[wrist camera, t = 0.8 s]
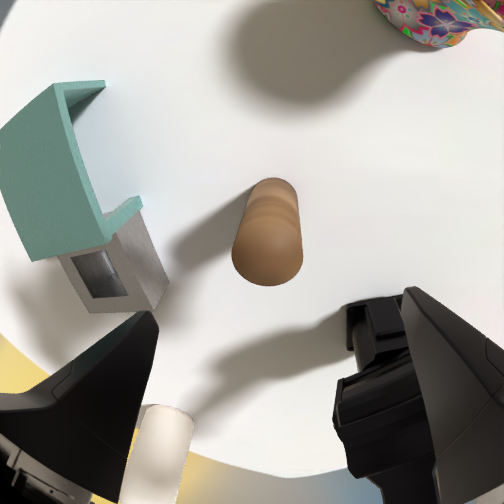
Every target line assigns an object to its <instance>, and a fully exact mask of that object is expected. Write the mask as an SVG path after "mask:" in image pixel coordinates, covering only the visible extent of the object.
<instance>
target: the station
mask: <svg viewBox="0 0 504 504" xmlns="http://www.w3.org/2000/svg"><path fill="white" fill-rule="evenodd" d="M104 87H106V86H105V81H104V80H97V81H76V82H63V83H53V84H52V85H51V86H49V87H48V88H47V89H46V90H44V91H43V92H42V93H41V94H39V95H38V96H37V97H36V98H34V99H33V100H32V101H31V102H30V103H28V104H27V105H26V106H25V107H24V108H23V109H22V110H20V111H19V112H18V113H17V114H16V115H15V116H14V117H13V118H12V119H11V120H10V121H9V122H8V123H7V124H5V125H4V126H3V127H2V128H1V129H0V190H1V193H2V196H3V198H4V201H5V204H6V206H7V209H8V211H9V214H10V216H11V219H12V221H13V223H14V226H15V228H16V230H17V233H18V235H19V237H20V239H21V241H22V243H23V245H24V247H25V250H26V252H27V254H28V256H29V258H30V259H31V261H32V262H33V261H37V260H41V259H45V258H49V257H53V256H57V257H58V259H59V261H60V263H61V264H62V266H63V268H64V270H65V272H66V274H67V276H68V277H69V279H70V281H71V283H72V285H73V286H74V288H75V290H76V291H77V293H78V295H79V297H80V298H81V300H82V302H83V303H84V305H85V306H86V308H87V310H88V311H89V313H116V312H139V311H141V310H149V311H154V310H155V308H156V306H157V304H158V303H159V301H160V299H161V297H162V295H163V293H164V291H165V290H166V288H167V286H168V284H169V280H168V278H167V276H166V274H165V272H164V269H163V267H162V265H161V262H160V260H159V258H158V255H157V253H156V251H155V248H154V246H153V244H152V241H151V239H150V236H149V234H148V231H147V229H146V226H145V224H144V221H143V219H142V216H141V213H140V211H139V210H140V209H141V208H142V207H143V205H142V202H141V199H140V197H139V196H135V197H132V198H129V199H128V200H127V201H125V202H124V203H123V204H122V205H120V206H119V207H118V208H117V209H115V210H114V211H112V212H109V213H106V214H102V212H101V209H100V207H99V204H98V202H97V199H96V196H95V194H94V191H93V189H92V186H91V183H90V180H89V178H88V175H87V172H86V169H85V166H84V163H83V160H82V157H81V154H80V151H79V148H78V144H77V141H76V138H75V134H74V131H73V127H72V124H71V120H70V116H69V113H68V108H70V107H72V106H73V105H75V104H76V103H78V102H80V101H81V100H83V99H85V98H86V97H88V96H90V95H92V94H93V93H95V92H97V91H99V90H101V89H102V88H104ZM102 250H106V252H107V254H108V256H109V258H110V260H111V262H112V264H113V266H114V268H115V270H116V272H117V274H112V273H111V271H110V269H109V267H108V265H107V263H106V261H105V259H104V257H103V255H102V253H101V251H102Z"/></svg>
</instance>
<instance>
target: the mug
mask: <svg viewBox="0 0 504 504" xmlns="http://www.w3.org/2000/svg"><path fill="white" fill-rule="evenodd" d="M373 1H374V2H375V4H376V6H377V7H378V9H379V10H380V11H381V13H382V14H383V15H384V16H385V17H386V18H387V19H388V20H389V21H390V23H392V24H393V25H394V26H395V27H396V28H397V29H399V30H400V31H401V32H402V33H404V34H405V35H407V36H408V37H410V38H412V39H414V40H416V41H418V42H420V43H422V44H425V45H428V46H433V47H439V48H447V47H452V46H455V45H457V44H458V43H460V42H461V41H462V40H463V39H464V38H465V36H466V35H467V32H468V31H470V30H473V29H478V28H487V29H494V30H497V31H501V32H504V0H373Z"/></svg>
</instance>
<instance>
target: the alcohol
mask: <svg viewBox="0 0 504 504" xmlns="http://www.w3.org/2000/svg"><path fill="white" fill-rule="evenodd" d="M193 430H194V423H193V420H192V418H191V417H190V416H189V415H188V414H186V413H184V412H183V411H181V410H178V409H176V408H173V407H170V406H166V405H152V406H151V407H149V408H148V409H147V410H146V413H145V415H144V418H143V421H142V423H141V426H140V429H139V432H138V435H137V437H136V440H135V443H134V446H133V449H132V452H131V455H130V458H129V461H128V464H127V466H126V469H125V472H124V477H123V481H122V486H121V491H120V496H119V500H120V503H121V504H175V503H176V498H177V494H178V490H179V486H180V482H181V478H182V474H183V469H184V466H185V461H186V458H187V454H188V450H189V446H190V442H191V438H192V434H193Z"/></svg>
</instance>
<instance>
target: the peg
mask: <svg viewBox="0 0 504 504" xmlns="http://www.w3.org/2000/svg"><path fill="white" fill-rule="evenodd" d="M231 255H232V262H233V265H234V267H235V269H236V270H237V272H238V273H239V274H240V275H241V276H242V277H243V278H245V279H246V280H248V281H249V282H251V283H254V284H257V285H261V286H276V285H280V284H283V283H286V282H288V281H289V280H291V279H292V278H293V277H294V276H295V275H296V274H297V273H298V272H299V270H300V268H301V266H302V262H303V249H302V238H301V228H300V218H299V209H298V200H297V194H296V192H295V190H294V188H293V187H292V186H291V185H290V184H289V183H288V182H287V181H285V180H283V179H280V178H267V179H264V180H262V181H260V182H259V183H257V184H256V185H255V186H254V188H253V189H252V192H251V194H250V197H249V200H248V203H247V206H246V209H245V212H244V215H243V217H242V220H241V223H240V226H239V229H238V232H237V235H236V238H235V241H234V244H233V247H232V254H231Z"/></svg>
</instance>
